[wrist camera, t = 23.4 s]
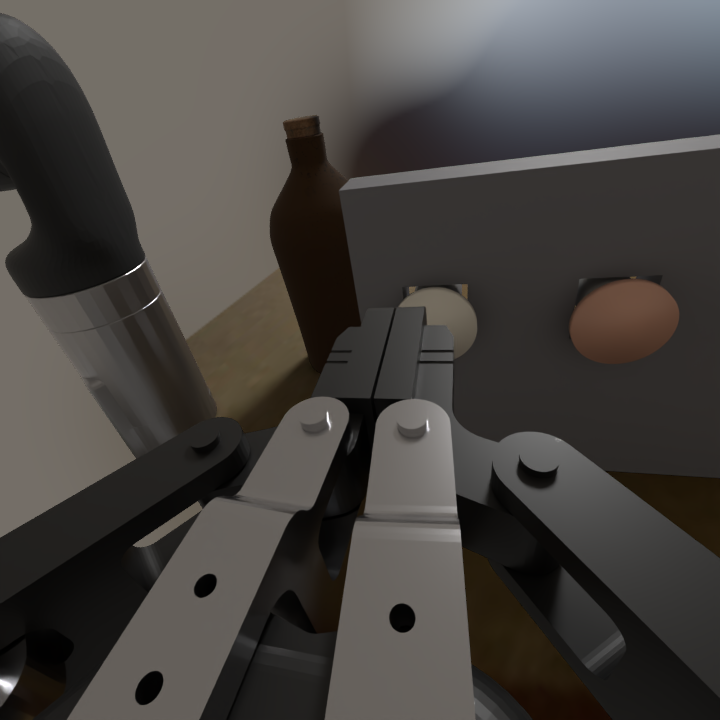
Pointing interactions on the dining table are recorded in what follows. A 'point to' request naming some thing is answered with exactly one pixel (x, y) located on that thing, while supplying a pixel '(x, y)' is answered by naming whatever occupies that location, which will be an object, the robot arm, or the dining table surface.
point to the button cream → (447, 312)
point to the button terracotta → (621, 319)
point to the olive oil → (314, 242)
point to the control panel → (562, 290)
